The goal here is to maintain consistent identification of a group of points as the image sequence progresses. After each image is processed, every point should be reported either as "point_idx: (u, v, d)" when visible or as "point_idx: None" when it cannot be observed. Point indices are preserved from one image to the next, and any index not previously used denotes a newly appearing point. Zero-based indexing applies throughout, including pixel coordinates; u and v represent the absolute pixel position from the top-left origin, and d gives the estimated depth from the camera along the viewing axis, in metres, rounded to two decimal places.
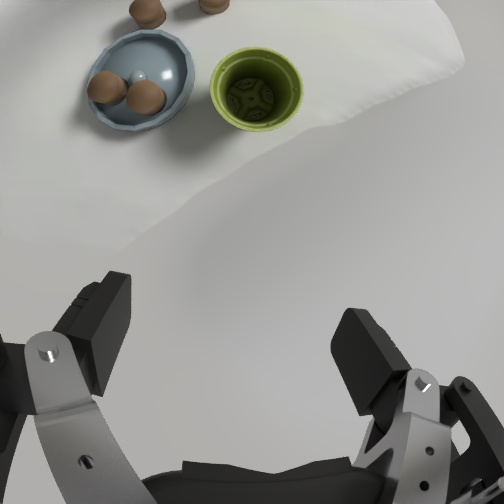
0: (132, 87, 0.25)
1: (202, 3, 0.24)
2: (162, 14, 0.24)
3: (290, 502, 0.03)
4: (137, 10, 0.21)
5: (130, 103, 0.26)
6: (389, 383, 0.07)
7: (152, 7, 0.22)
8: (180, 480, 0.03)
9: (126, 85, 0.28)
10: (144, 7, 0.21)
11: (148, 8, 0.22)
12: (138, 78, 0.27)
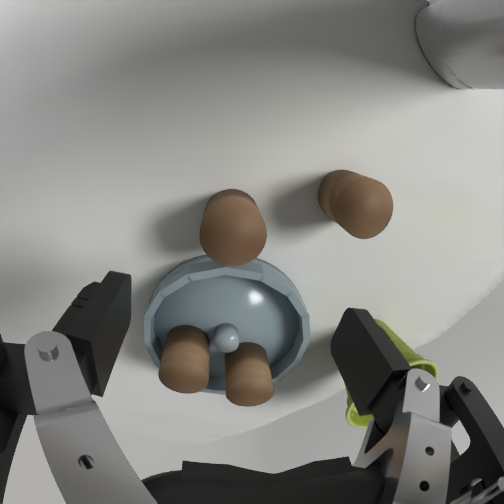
0: (234, 385, 0.20)
1: (336, 221, 0.19)
2: None
3: (290, 502, 0.03)
4: (219, 245, 0.17)
5: (233, 398, 0.21)
6: (389, 383, 0.07)
7: (251, 244, 0.17)
8: (180, 480, 0.03)
9: (209, 344, 0.23)
10: (234, 240, 0.17)
11: (243, 244, 0.17)
12: (230, 346, 0.22)
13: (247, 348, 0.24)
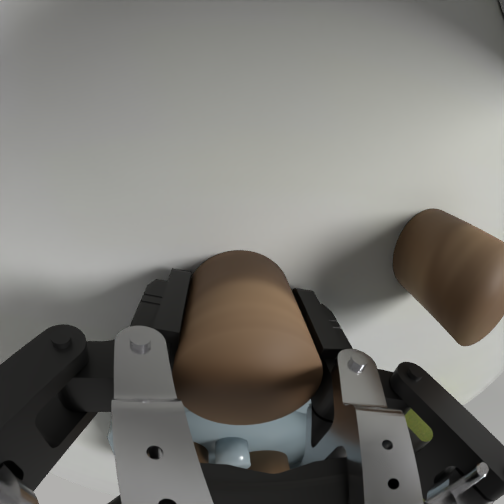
0: None
1: (430, 312, 0.09)
2: None
3: (290, 502, 0.03)
4: (218, 401, 0.07)
5: None
6: (323, 363, 0.07)
7: (287, 395, 0.07)
8: None
9: (207, 460, 0.13)
10: (250, 393, 0.07)
11: (270, 397, 0.07)
12: None
13: (262, 462, 0.14)
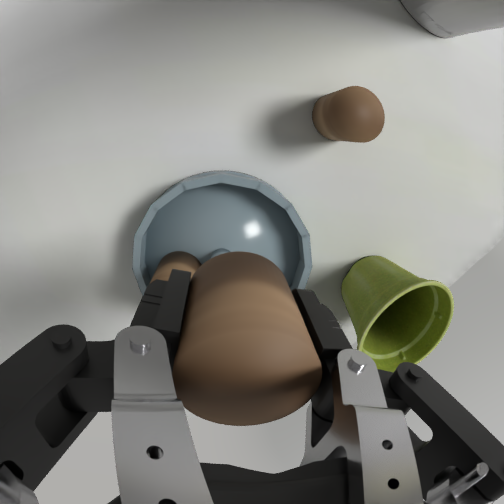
0: None
1: (330, 131, 0.18)
2: None
3: (290, 502, 0.03)
4: (218, 401, 0.07)
5: None
6: (323, 362, 0.07)
7: (287, 396, 0.07)
8: None
9: None
10: (250, 394, 0.07)
11: (270, 398, 0.07)
12: None
13: None
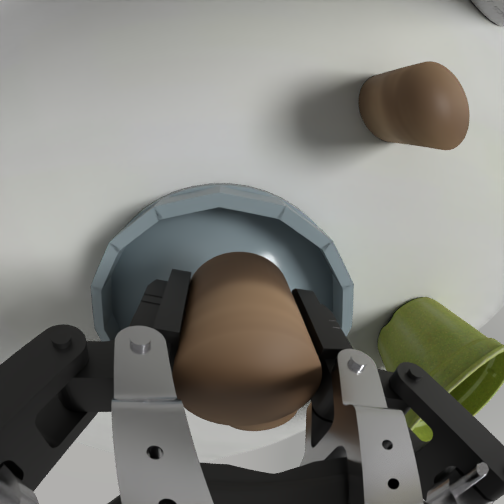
0: None
1: (394, 128, 0.10)
2: None
3: (290, 502, 0.03)
4: (218, 402, 0.07)
5: None
6: (323, 362, 0.07)
7: (286, 396, 0.07)
8: None
9: None
10: (250, 394, 0.07)
11: (270, 398, 0.07)
12: None
13: None
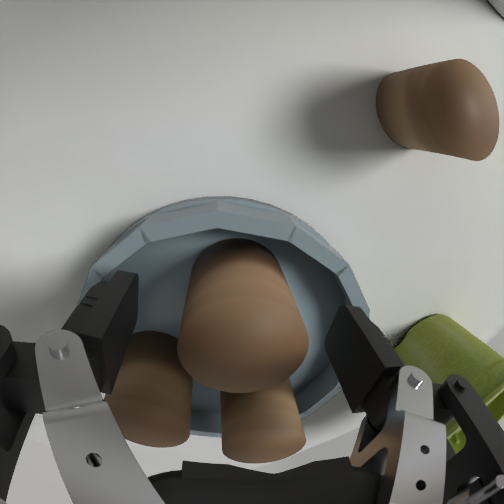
0: (238, 439, 0.10)
1: (420, 134, 0.09)
2: None
3: (290, 502, 0.03)
4: (217, 366, 0.08)
5: (235, 455, 0.11)
6: (382, 380, 0.07)
7: (278, 362, 0.08)
8: (180, 480, 0.03)
9: None
10: (246, 359, 0.08)
11: (263, 364, 0.08)
12: None
13: None
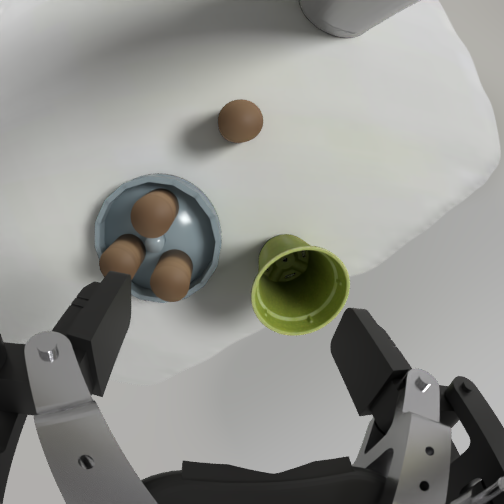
0: (155, 273, 0.26)
1: (224, 137, 0.25)
2: (176, 214, 0.27)
3: (290, 502, 0.03)
4: (143, 224, 0.24)
5: (156, 291, 0.27)
6: (389, 383, 0.07)
7: (162, 222, 0.24)
8: (180, 480, 0.03)
9: (143, 249, 0.29)
10: (151, 220, 0.24)
11: (157, 222, 0.24)
12: (156, 246, 0.28)
13: (172, 252, 0.29)
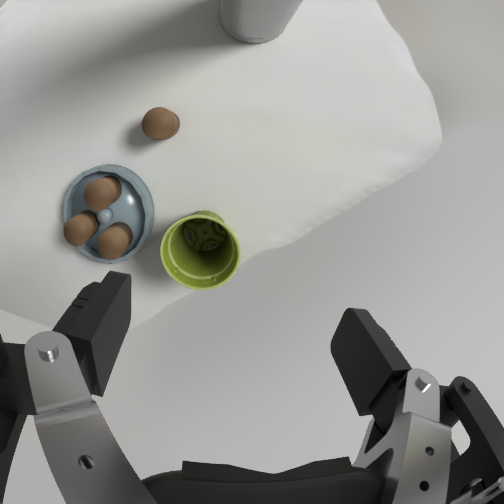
0: (100, 237, 0.33)
1: None
2: (117, 194, 0.34)
3: (290, 502, 0.03)
4: (91, 200, 0.31)
5: (101, 251, 0.34)
6: (389, 383, 0.07)
7: (104, 199, 0.31)
8: (180, 480, 0.03)
9: (96, 221, 0.35)
10: (97, 198, 0.31)
11: (101, 199, 0.31)
12: (105, 218, 0.35)
13: (117, 223, 0.36)
